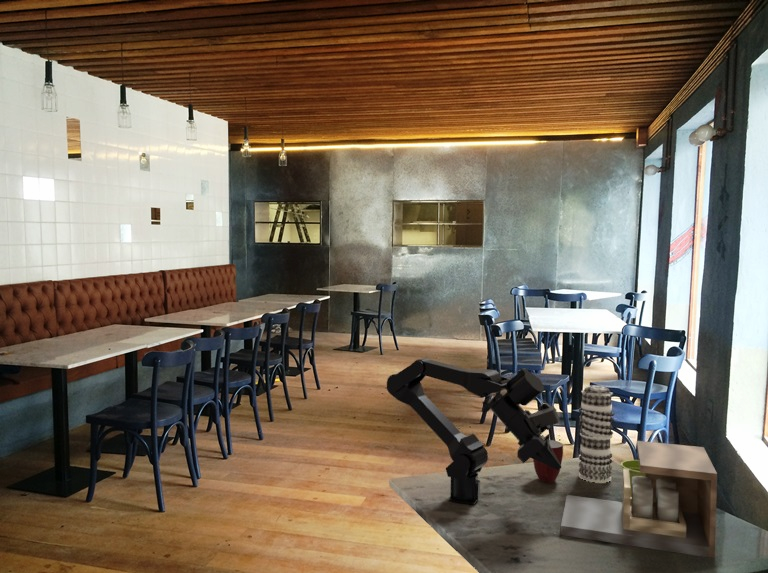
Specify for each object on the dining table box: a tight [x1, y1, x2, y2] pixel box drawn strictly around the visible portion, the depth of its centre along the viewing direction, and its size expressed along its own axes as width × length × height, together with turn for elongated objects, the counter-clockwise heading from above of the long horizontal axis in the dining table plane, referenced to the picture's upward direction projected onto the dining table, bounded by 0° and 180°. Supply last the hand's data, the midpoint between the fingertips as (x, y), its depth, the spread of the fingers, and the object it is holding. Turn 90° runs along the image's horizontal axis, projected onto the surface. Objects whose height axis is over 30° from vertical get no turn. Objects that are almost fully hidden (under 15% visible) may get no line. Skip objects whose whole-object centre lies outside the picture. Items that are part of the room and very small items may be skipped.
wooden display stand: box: [560, 440, 718, 559], centre depth 137 cm, size 30×19×17 cm, turn 70°
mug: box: [532, 439, 564, 484], centre depth 165 cm, size 10×8×10 cm
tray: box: [621, 468, 686, 538], centre depth 135 cm, size 12×13×9 cm
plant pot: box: [620, 459, 645, 497], centre depth 153 cm, size 9×9×9 cm
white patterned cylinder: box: [578, 384, 615, 484], centre depth 169 cm, size 9×9×25 cm
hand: (560, 468), depth 142 cm, fingers closed
